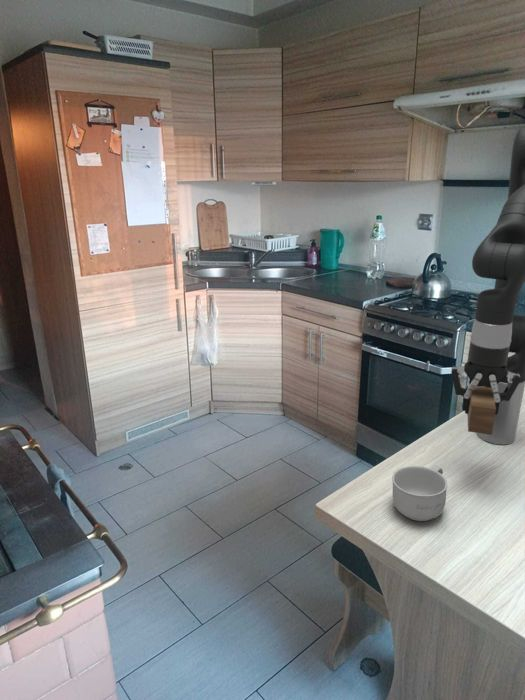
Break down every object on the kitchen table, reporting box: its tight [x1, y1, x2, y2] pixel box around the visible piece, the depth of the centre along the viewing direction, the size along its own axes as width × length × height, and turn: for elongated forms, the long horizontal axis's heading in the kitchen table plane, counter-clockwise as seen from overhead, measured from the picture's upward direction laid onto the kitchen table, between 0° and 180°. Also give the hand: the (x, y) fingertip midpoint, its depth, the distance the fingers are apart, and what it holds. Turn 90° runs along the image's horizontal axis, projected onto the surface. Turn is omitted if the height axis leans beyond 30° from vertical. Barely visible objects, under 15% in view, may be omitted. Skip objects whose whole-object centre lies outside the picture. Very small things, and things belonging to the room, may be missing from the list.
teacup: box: [391, 465, 449, 522], centre depth 103 cm, size 14×11×8 cm
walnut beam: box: [466, 386, 496, 435], centre depth 107 cm, size 14×4×6 cm, turn 160°
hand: (478, 413), depth 108 cm, fingers closed on walnut beam, 4 cm apart
